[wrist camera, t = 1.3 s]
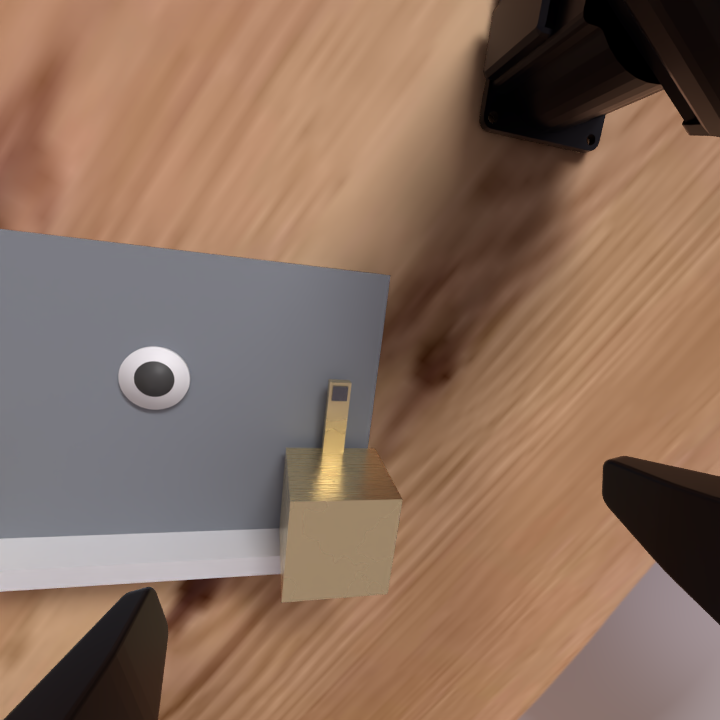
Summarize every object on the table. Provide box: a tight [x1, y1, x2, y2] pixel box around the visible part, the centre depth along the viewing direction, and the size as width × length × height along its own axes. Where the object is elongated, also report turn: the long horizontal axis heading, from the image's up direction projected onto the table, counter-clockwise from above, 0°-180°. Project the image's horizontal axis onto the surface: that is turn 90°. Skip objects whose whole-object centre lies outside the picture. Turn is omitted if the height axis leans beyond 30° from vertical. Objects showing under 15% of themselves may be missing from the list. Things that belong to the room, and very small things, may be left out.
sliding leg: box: [279, 379, 403, 603], centre depth 17 cm, size 4×8×4 cm, turn 173°
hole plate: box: [0, 229, 390, 592], centre depth 16 cm, size 23×15×6 cm, turn 83°
